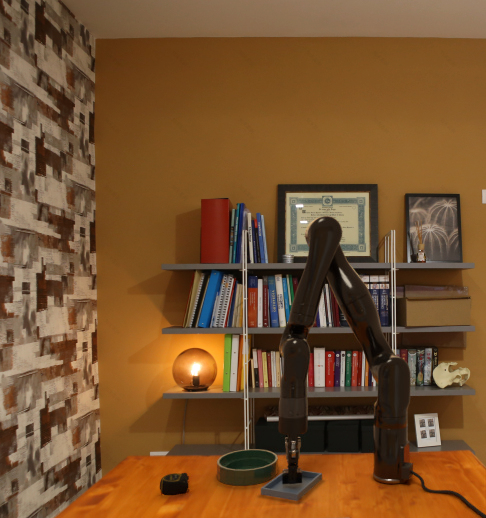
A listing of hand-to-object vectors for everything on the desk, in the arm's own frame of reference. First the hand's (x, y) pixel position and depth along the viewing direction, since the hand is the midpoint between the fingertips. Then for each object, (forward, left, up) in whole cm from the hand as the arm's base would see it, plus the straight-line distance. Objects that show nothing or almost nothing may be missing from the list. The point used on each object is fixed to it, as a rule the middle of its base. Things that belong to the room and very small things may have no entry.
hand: (292, 480), depth 127 cm
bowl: (+15, -3, -2) cm, 16 cm away
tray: (0, 0, -2) cm, 2 cm away
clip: (0, 0, 0) cm, 0 cm away
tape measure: (+26, +12, -2) cm, 29 cm away
